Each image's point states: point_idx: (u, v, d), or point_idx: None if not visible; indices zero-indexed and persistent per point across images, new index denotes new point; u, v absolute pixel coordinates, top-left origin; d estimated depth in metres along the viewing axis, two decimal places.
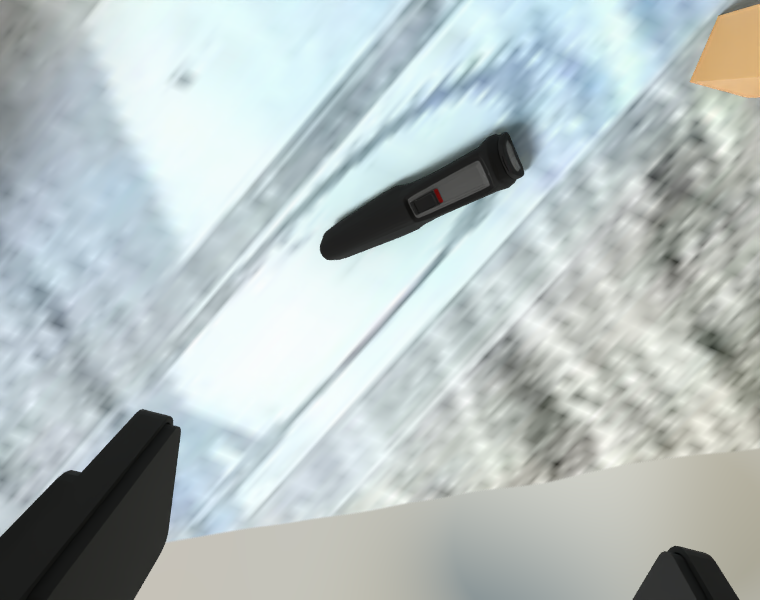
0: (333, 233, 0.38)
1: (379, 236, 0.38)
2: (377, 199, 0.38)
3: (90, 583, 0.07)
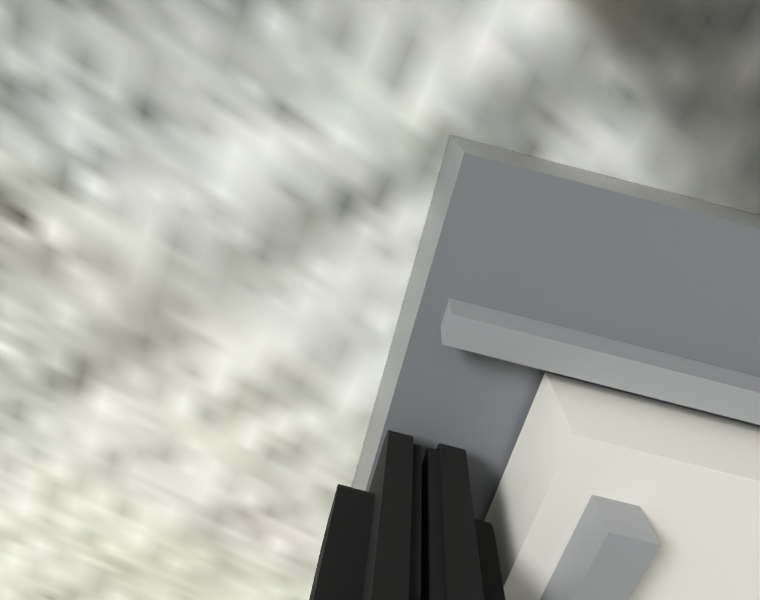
0: None
1: None
2: None
3: None
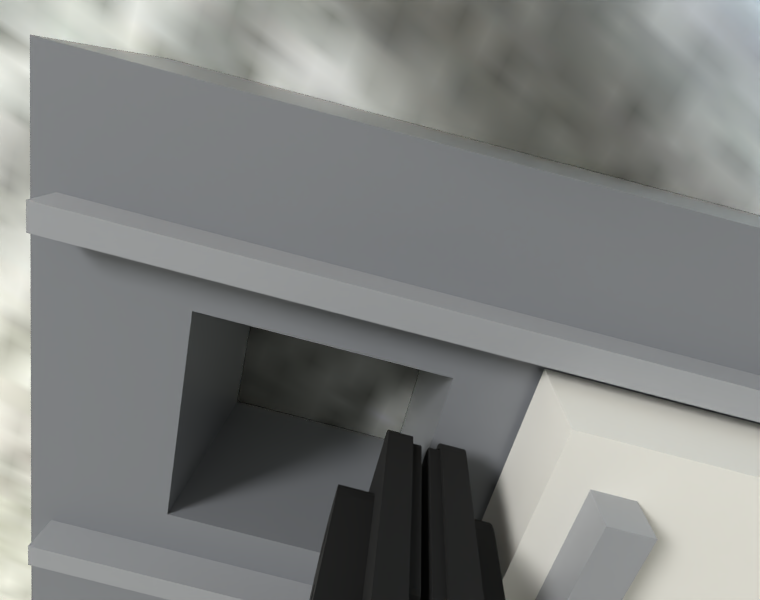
0: None
1: None
2: None
3: None
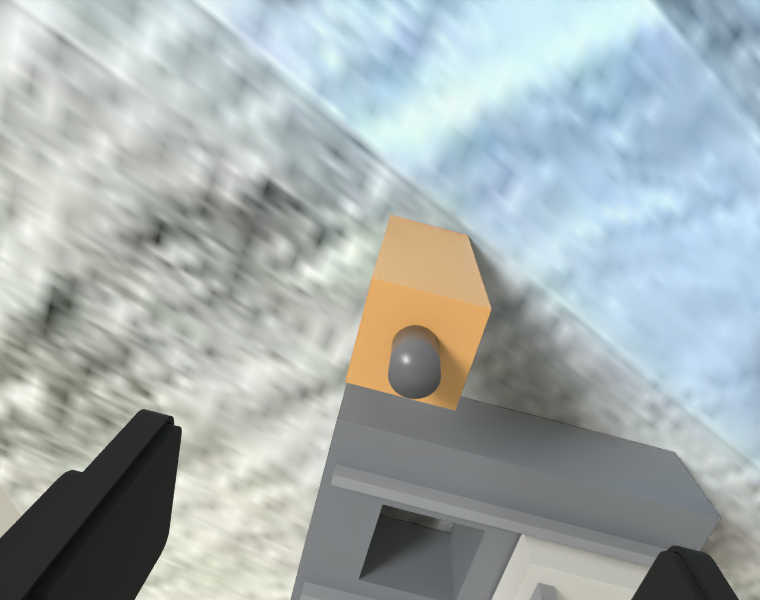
0: None
1: None
2: None
3: (92, 582, 0.07)
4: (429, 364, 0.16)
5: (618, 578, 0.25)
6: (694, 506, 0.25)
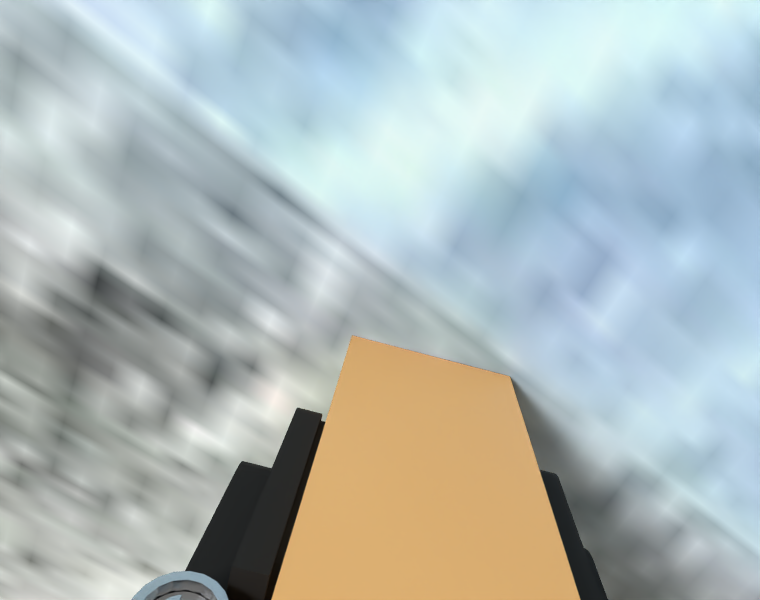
0: None
1: None
2: None
3: None
4: None
5: None
6: None
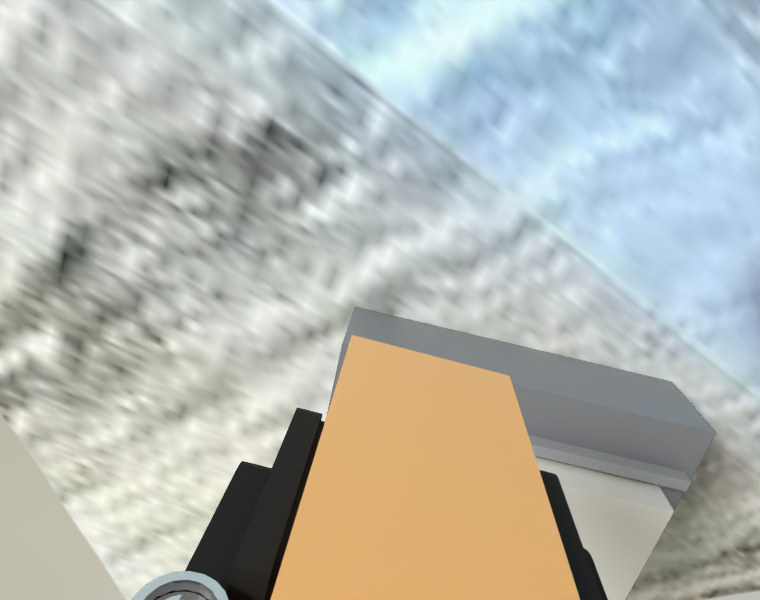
0: None
1: None
2: None
3: None
4: None
5: (617, 492, 0.25)
6: (690, 423, 0.26)
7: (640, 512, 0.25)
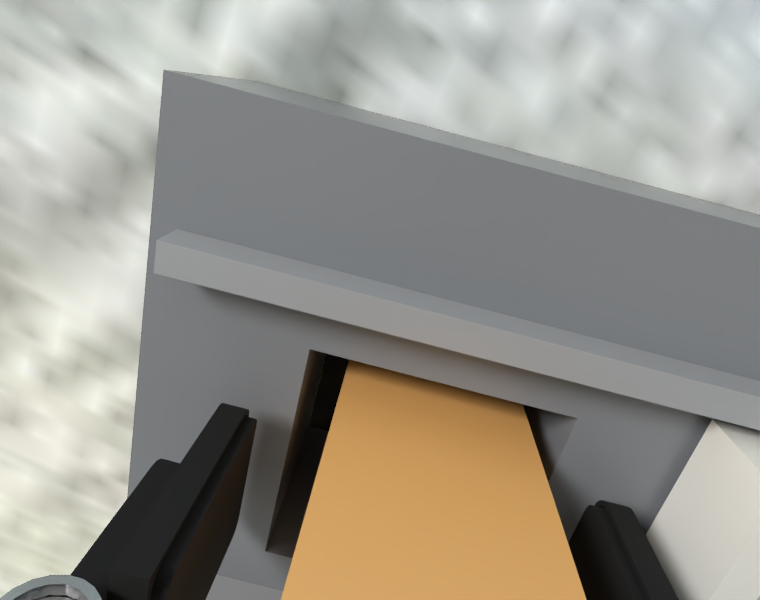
0: None
1: None
2: None
3: (197, 559, 0.08)
4: None
5: None
6: None
7: None
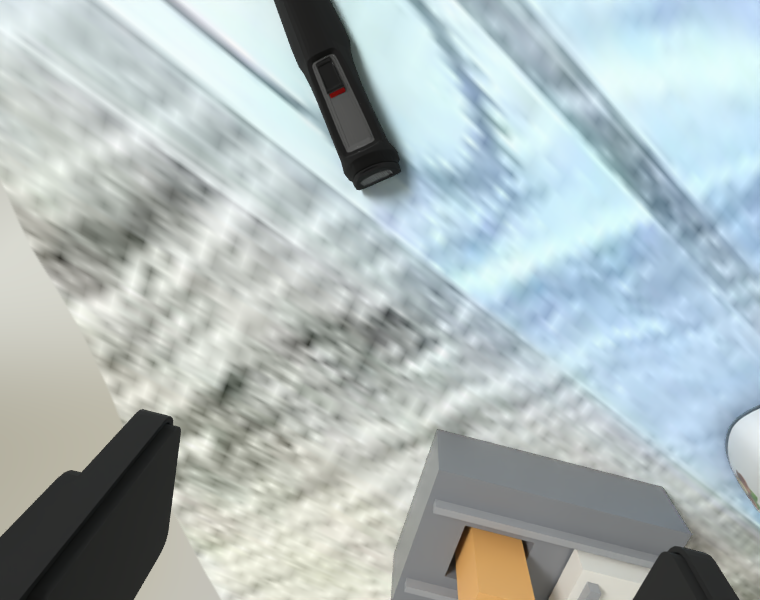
0: None
1: (289, 13, 0.30)
2: (334, 14, 0.31)
3: (90, 583, 0.07)
4: None
5: (639, 578, 0.37)
6: (674, 527, 0.38)
7: None
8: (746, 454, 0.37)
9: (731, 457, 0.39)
